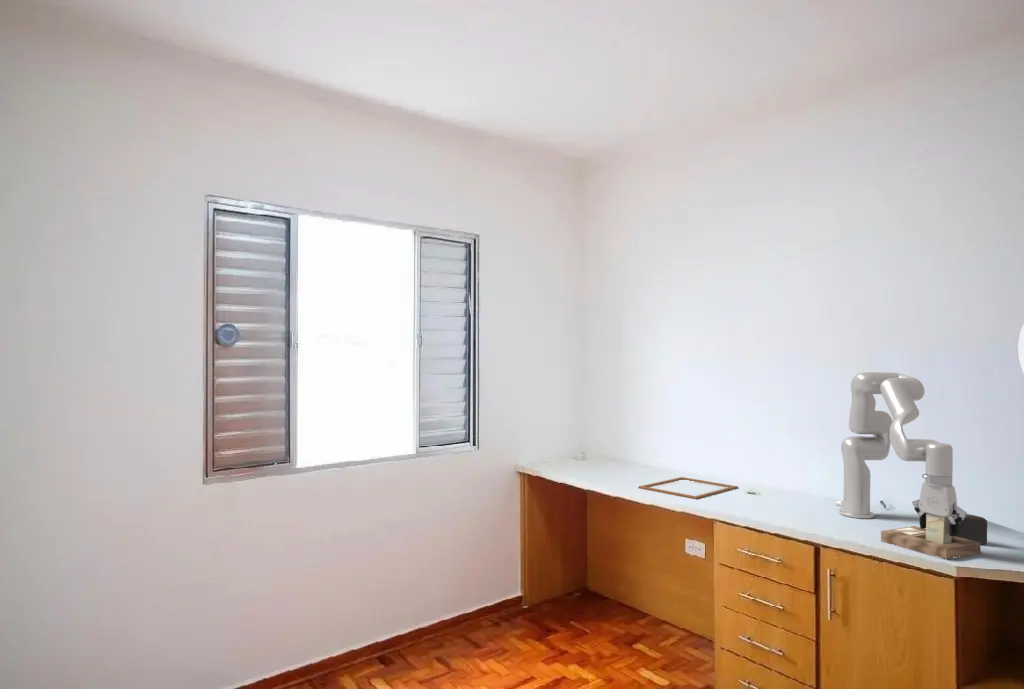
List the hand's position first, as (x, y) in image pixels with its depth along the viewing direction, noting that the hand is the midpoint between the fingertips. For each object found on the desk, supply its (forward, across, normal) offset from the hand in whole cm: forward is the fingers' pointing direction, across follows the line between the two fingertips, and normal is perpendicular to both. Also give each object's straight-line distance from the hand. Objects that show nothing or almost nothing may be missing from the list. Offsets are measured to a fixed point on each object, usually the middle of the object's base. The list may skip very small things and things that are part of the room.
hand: (938, 531), depth 217 cm
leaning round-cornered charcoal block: (+6, -4, +17) cm, 18 cm away
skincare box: (+6, 0, 0) cm, 6 cm away
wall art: (+7, -110, -12) cm, 111 cm away
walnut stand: (+6, -3, 0) cm, 7 cm away
